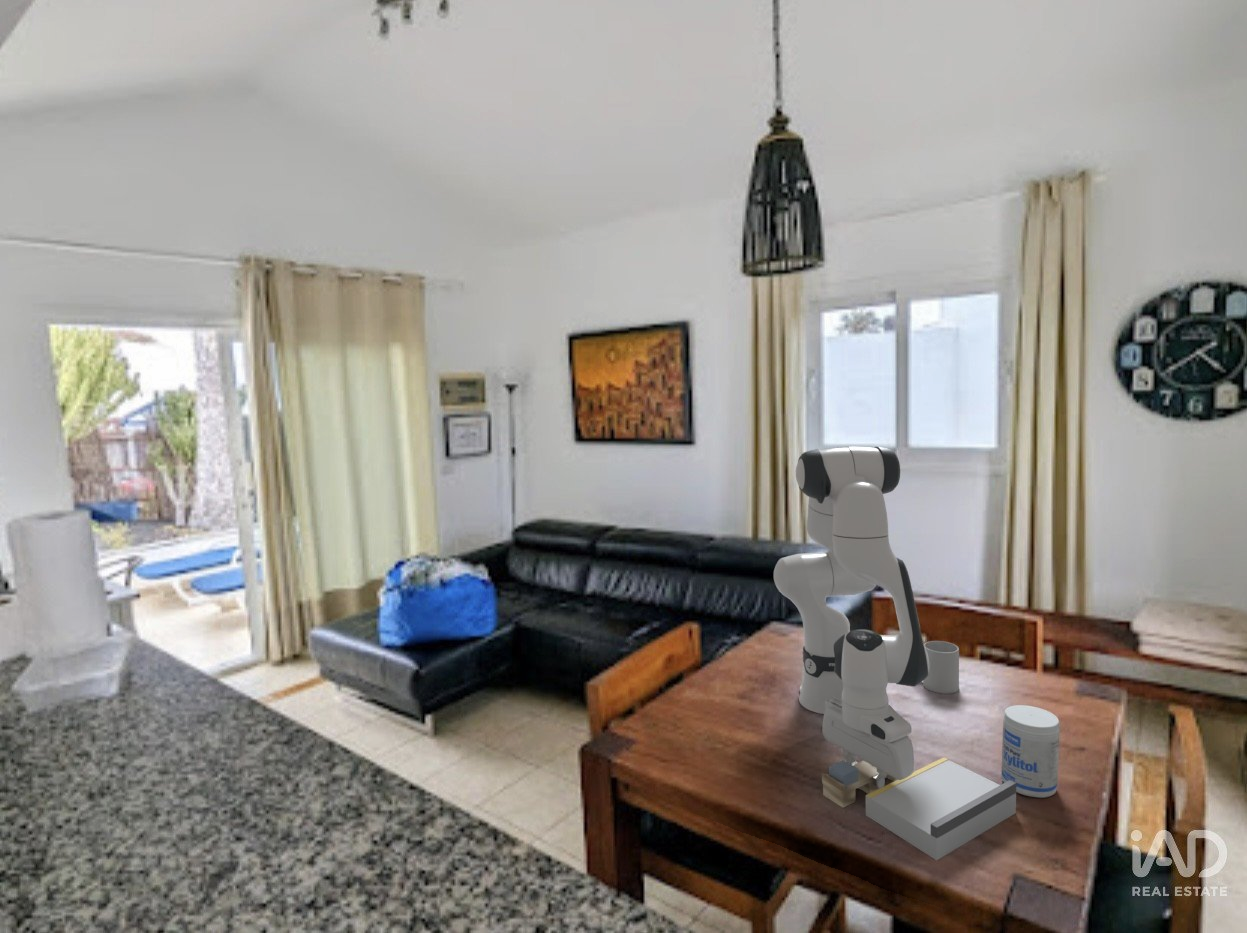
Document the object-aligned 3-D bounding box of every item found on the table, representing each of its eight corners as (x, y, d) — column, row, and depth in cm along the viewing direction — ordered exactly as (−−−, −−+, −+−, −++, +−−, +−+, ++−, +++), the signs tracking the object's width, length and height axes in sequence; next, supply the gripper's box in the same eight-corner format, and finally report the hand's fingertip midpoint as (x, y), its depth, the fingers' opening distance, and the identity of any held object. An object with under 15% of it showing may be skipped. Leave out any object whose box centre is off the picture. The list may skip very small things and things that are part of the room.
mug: (966, 688, 180) (966, 647, 178) (945, 697, 175) (945, 655, 174) (925, 672, 190) (925, 634, 189) (905, 681, 186) (904, 641, 184)
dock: (943, 775, 141) (943, 748, 141) (1015, 813, 128) (1016, 782, 128) (865, 815, 130) (865, 785, 129) (936, 860, 117) (936, 827, 116)
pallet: (887, 765, 146) (886, 745, 146) (907, 776, 142) (907, 755, 141) (822, 795, 137) (822, 774, 136) (841, 808, 133) (841, 786, 132)
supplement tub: (996, 788, 136) (997, 718, 134) (1007, 767, 143) (1008, 699, 142) (1053, 806, 130) (1055, 732, 128) (1061, 782, 137) (1063, 712, 135)
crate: (843, 771, 139) (843, 760, 138) (858, 780, 135) (858, 768, 135) (828, 778, 137) (828, 766, 136) (843, 787, 133) (843, 775, 133)
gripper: (814, 698, 145) (816, 760, 147) (896, 738, 127) (897, 808, 129) (836, 690, 148) (837, 751, 150) (919, 728, 130) (919, 797, 132)
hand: (865, 778), depth 139 cm, fingers closed on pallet, 5 cm apart
